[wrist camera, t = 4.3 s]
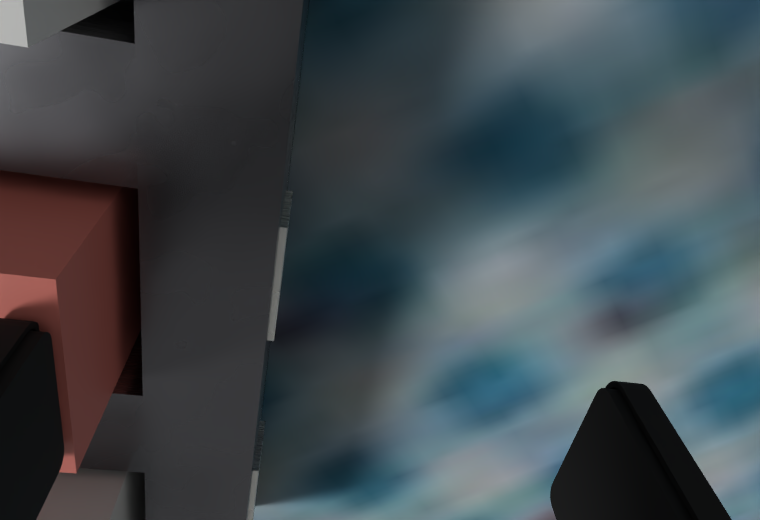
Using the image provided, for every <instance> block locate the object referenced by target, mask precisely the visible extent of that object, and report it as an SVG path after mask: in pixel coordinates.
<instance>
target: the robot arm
mask: <svg viewBox="0 0 760 520" xmlns="http://www.w3.org/2000/svg"><path fill="white" fill-rule="evenodd" d="M63 458H64V440H63V432H62V423H61V415H60V406H59V397H58V389H57V380H56V372H55V363H54V355H53V346H52V338H51V335H50V333H48V332H42V331H39V324H38V323H37V322H34V321H25V320H15V319H5V318H0V520H36V519H37V517H38V515H39V513H40V511H41V509H42V507H43V505H44V503H45V500H46V498H47V496H48V494H49V492H50V490H51V488H52V486H53V484H54V482H55V480H56V478H57V476H58V473H59V471H60V469H61V466H62V462H63ZM550 498H551V504H552V508H553V511H554V514H555V516H556V519H557V520H731V518H730V516H729V515H728V513H727V512H726V510H725V508H724V507H723V505H722V504H721V502H720V500H719V499H718V497H717V496H716V494H715V492H714V491H713V489H712V488H711V486H710V485H709V483H708V481H707V480H706V478H705V477H704V475H703V473H702V472H701V470H700V469H699V467H698V465H697V464H696V462H695V461H694V459H693V457H692V456H691V454H690V453H689V451H688V450H687V448H686V446H685V445H684V443H683V442H682V440H681V438H680V437H679V435H678V434H677V432H676V430H675V429H674V427H673V426H672V424H671V422H670V421H669V419H668V418H667V416H666V414H665V413H664V411H663V410H662V408H661V407H660V405H659V403H658V402H657V400H656V399H655V397H654V395H653V394H652V392H651V391H650V389H649V388H648V387H647V386H646V385H644V384H638V383H628V382H618V381H612V382H610V383H609V384H608V385H607V386H606V388H601V389H600V390H598V392H597V393H596V395H595V397H594V399H593V401H592V403H591V405H590V408H589V410H588V412H587V414H586V416H585V418H584V420H583V422H582V424H581V426H580V428H579V430H578V432H577V434H576V436H575V438H574V440H573V442H572V445H571V447H570V449H569V451H568V453H567V455H566V457H565V459H564V461H563V463H562V465H561V467H560V469H559V471H558V473H557V475H556V477H555V479H554V481H553V484H552V486H551V492H550Z"/></svg>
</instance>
